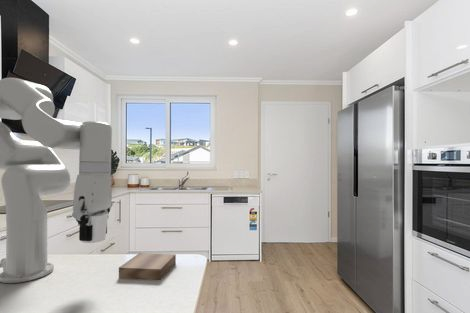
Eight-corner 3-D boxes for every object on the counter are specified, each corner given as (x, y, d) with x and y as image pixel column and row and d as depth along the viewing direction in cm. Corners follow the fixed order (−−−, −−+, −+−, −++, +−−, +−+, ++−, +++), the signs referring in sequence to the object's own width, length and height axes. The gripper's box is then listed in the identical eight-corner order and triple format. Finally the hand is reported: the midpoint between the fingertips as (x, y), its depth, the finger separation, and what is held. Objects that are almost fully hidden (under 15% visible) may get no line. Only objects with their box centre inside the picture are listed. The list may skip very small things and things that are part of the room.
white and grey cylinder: (96, 244, 69) (96, 216, 69) (72, 242, 71) (73, 214, 71) (113, 237, 76) (114, 211, 76) (91, 235, 77) (92, 210, 77)
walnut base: (118, 278, 76) (118, 267, 76) (139, 262, 88) (139, 253, 88) (160, 280, 75) (160, 269, 75) (175, 264, 87) (175, 254, 87)
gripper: (101, 167, 82) (100, 228, 82) (57, 169, 65) (55, 246, 65) (125, 168, 81) (124, 229, 81) (87, 170, 64) (85, 248, 64)
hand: (93, 236), depth 73 cm, fingers closed on white and grey cylinder, 5 cm apart
